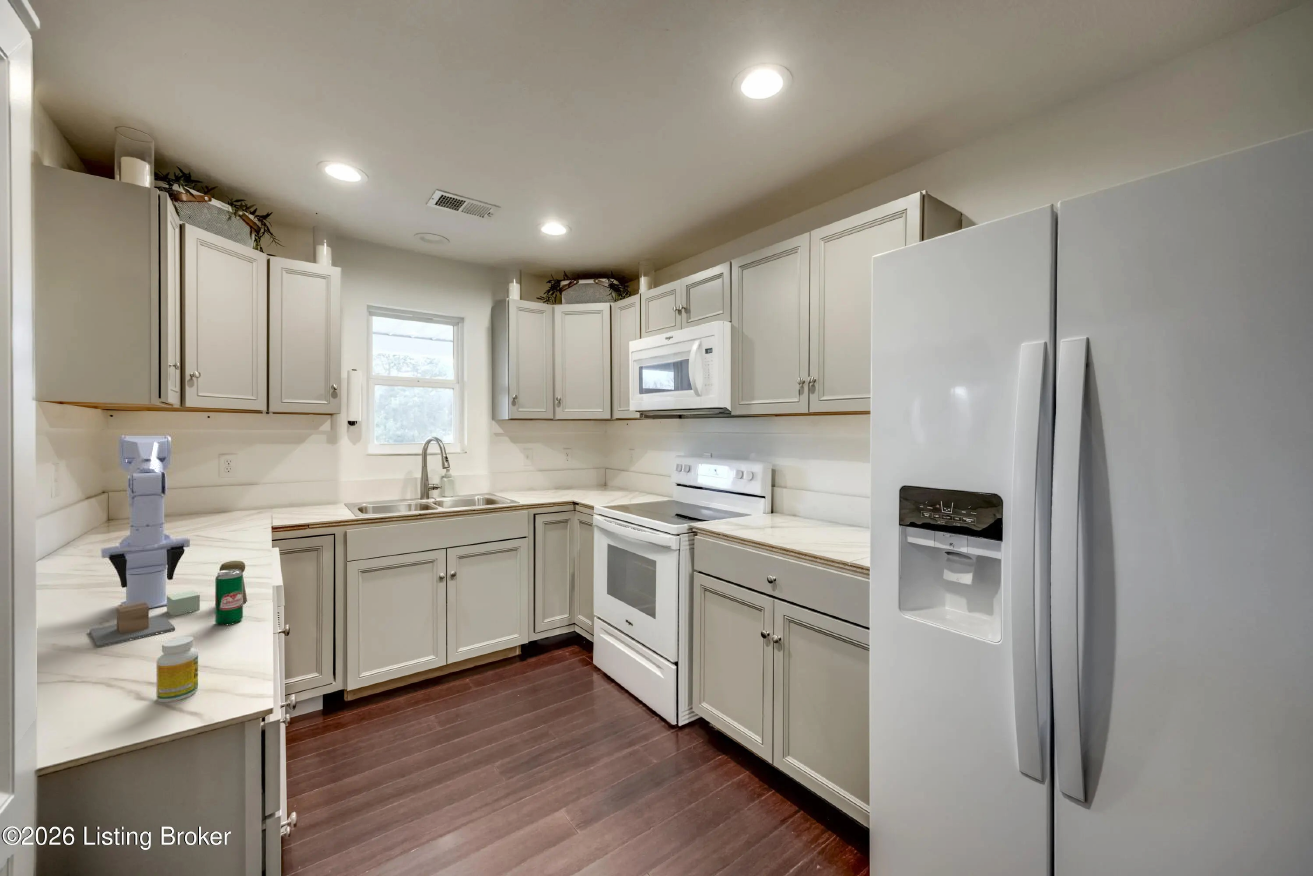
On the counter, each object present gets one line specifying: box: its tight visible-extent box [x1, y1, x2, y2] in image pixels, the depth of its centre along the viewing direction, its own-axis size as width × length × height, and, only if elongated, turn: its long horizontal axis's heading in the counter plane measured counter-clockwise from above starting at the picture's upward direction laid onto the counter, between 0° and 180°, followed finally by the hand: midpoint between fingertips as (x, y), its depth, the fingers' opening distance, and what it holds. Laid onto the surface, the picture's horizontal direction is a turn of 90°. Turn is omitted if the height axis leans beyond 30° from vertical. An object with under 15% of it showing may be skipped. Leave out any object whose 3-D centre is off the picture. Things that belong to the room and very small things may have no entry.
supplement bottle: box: [155, 636, 199, 703], centre depth 91 cm, size 5×5×10 cm
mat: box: [89, 614, 176, 648], centre depth 116 cm, size 12×12×1 cm
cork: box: [218, 560, 248, 605], centre depth 134 cm, size 6×6×11 cm
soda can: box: [214, 569, 244, 626], centre depth 123 cm, size 5×5×12 cm
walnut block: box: [116, 602, 150, 634], centre depth 116 cm, size 4×4×5 cm
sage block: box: [166, 590, 201, 616], centre depth 129 cm, size 5×5×4 cm
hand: (147, 582), depth 121 cm, fingers open, 7 cm apart
